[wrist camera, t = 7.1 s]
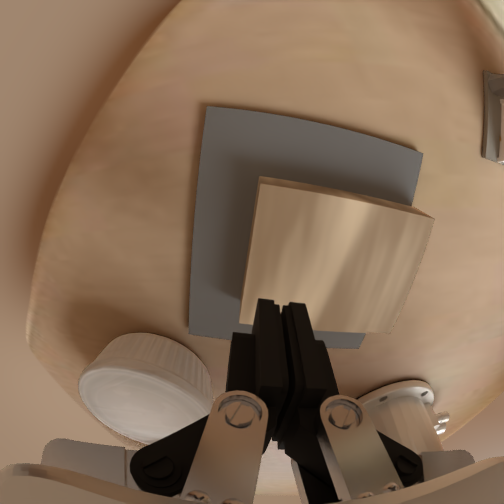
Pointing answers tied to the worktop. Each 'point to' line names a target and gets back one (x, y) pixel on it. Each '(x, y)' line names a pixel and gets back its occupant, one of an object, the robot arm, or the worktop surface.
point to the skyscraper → (493, 117)
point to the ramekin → (146, 387)
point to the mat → (245, 189)
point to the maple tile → (332, 255)
